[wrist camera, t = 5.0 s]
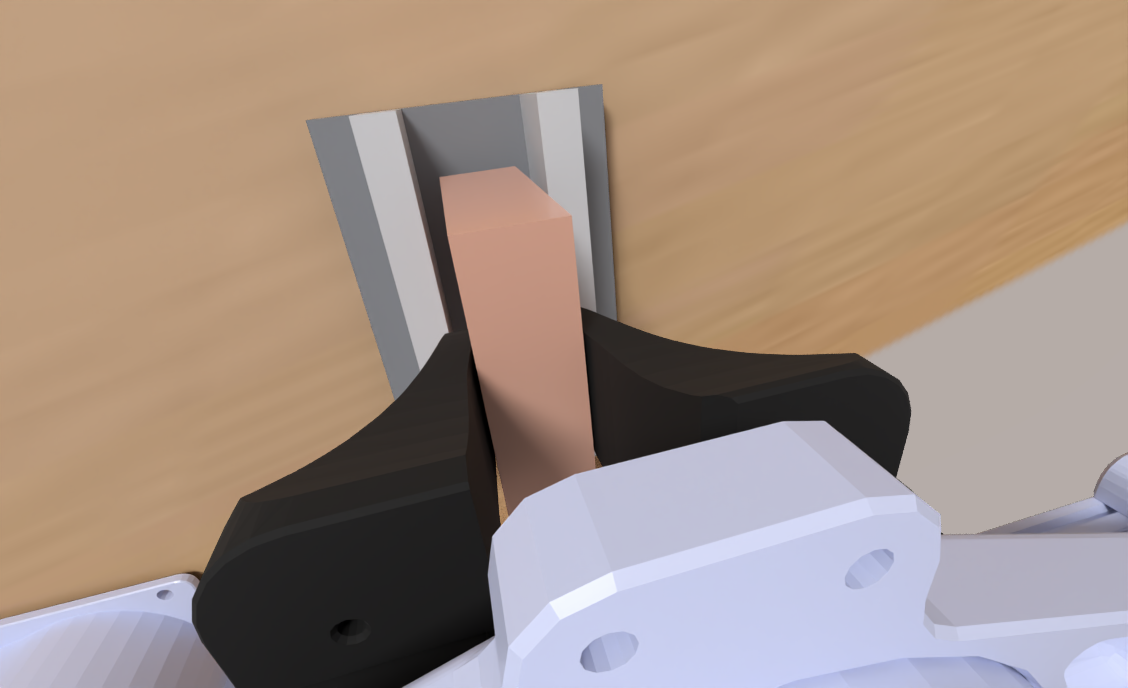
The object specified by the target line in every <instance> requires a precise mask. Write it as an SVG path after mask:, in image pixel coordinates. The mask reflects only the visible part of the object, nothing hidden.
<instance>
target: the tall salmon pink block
mask: <svg viewBox="0 0 1128 688" xmlns="http://www.w3.org/2000/svg"><path fill="white" fill-rule="evenodd" d="M439 178H440V186H441V193H442V200H443V207H444V215H445V222H446V229H447V236H448V241H449V245H450V250H451V254H452V259H453V264H454V268H455V273H456V277H457V282H458V286H459V291H460V296H461V300H462V305H463V309H464V314H465V318H466V323H467V328H468V332H469V337H470V341H471V346H472V351H473V355H474V360H475V364H476V369H477V373H478V378H479V383H480V387H481V392H482V396H483V401H484V405H485V410H486V415H487V419H488V424H489V428H490V433H491V437H492V442H493V447H494V451H495V456H496V460H497V465H498V469H499V474H500V479H501V483H502V488H503V492H504V497H505V501H506V506H507V511H508V515H509V516H510V515H511V514H512V512H513V511H514V510H515V509H516V508H517V506H518V505H519V504H520V503H521V502H522V501H523V499H524V498H526V497H528V496H530V495H532V494H534V493H536V492H539V491H541V490H543V489H545V488H547V487H549V486H551V485H553V484H555V483H557V482H559V481H562V480H564V479H566V478H568V477H570V476H572V475H574V474H578V473H582V472H586V471H590V470H593V469H596V467H595V456H594V446H593V435H592V424H591V414H590V403H589V393H588V382H587V371H586V361H585V350H584V340H583V329H582V318H581V308H580V297H579V287H578V276H577V266H576V255H575V244H574V234H573V223H572V215H571V214H570V213H568V212H567V211H566V210H565V209H564V208H563V207H561V206H560V205H559V204H558V203H557V202H556V201H555V200H553V199H552V198H551V197H550V196H549V195H548V194H547V193H545V192H544V191H543V190H542V189H541V188H540V187H538V186H537V185H536V184H535V183H534V182H533V181H532V180H530V179H529V178H528V177H527V176H526V175H525V174H523V173H522V172H521V171H520V170H519V169H518V168H517V167H515V166H512V167H505V168H498V169H492V170H485V171H478V172H471V173H464V174H457V175H450V176H443V177H439Z"/></svg>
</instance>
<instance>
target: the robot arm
mask: <svg viewBox="0 0 1128 688" xmlns="http://www.w3.org/2000/svg"><path fill="white" fill-rule="evenodd" d="M580 308H581V318H582V329H583V340H584V350H585V361H586V371H587V382H588V393H589V403H590V414H591V424H592V435H593V446H594V451H595V453H596V455H597V457H598V459H599V461H600V462H601V464H602V466H603V467H601V468H597V469H593V470H590V471H586V472H582V473H578V474H574V475H572V476H570V477H568V478H566V479H564V480H562V481H559V482H557V483H555V484H553V485H551V486H549V487H547V488H545V489H543V490H541V491H539V492H536V493H534V494H532V495H530V496H528V497H526V498H524V499H523V501H522V502H521V503H520V504H519V505H518V506H517V508H516V509H515V510H514V511H513V512H512V514H511V515H510V516H509V517H508V518H507V519H506V521H505V522H504V523H503V524H502V525H501V524H500V516H499V505H498V490H497V476H496V461H495V451H494V447H493V442H492V437H491V433H490V428H489V424H488V419H487V415H486V410H485V405H484V401H483V396H482V392H481V387H480V383H479V378H478V373H477V369H476V364H475V360H474V355H473V351H472V346H471V341H470V337H469V332H468V329H465V330H460V331H455V332H450V333H445V334H444V335H443V337H442V338H441V340H440V341H439V343H438V345H437V346H436V348H435V350H434V351H433V353H432V354H431V356H430V358H429V359H428V361H427V362H426V364H425V365H424V366H423V368H422V369H421V371H420V372H419V374H418V375H417V376H416V377H415V379H414V380H413V381H412V382H411V384H410V385H409V386H408V387H407V389H406V390H405V391H404V392H403V393H402V394H401V395H400V396H399V397H398V398H397V399H396V400H395V401H394V402H393V403H392V404H391V405H390V406H389V407H388V408H387V409H386V410H385V411H384V412H383V413H382V414H380V415H379V416H378V417H377V418H376V419H374V420H373V421H372V422H371V423H369V424H368V425H367V426H365V427H364V428H363V429H361V430H360V431H359V432H357V433H356V434H355V435H354V436H352V437H351V438H350V439H348V440H347V441H345V442H344V443H342V444H341V445H339V446H338V447H336V448H335V449H333V450H332V451H330V452H328V453H327V454H325V455H324V456H322V457H320V458H318V459H317V460H315V461H313V462H312V463H310V464H308V465H306V466H305V467H303V468H301V469H299V470H297V471H296V472H294V473H292V474H290V475H287V476H285V477H283V478H281V479H279V480H277V481H275V482H273V483H271V484H269V485H267V486H265V487H263V488H261V489H259V490H257V491H255V492H253V493H251V494H248V495H246V496H244V497H242V498H240V500H239V501H238V503H237V505H236V507H235V509H234V510H233V512H232V514H231V516H230V518H229V520H228V522H227V524H226V525H225V527H224V530H223V532H222V534H221V536H220V538H219V540H218V543H217V545H216V547H215V549H214V551H213V553H212V556H211V558H210V560H209V562H208V564H207V567H206V569H205V571H204V573H203V575H202V577H201V580H200V581H199V580H198V579H197V578H196V577H195V576H193V575H191V574H185V573H184V574H177V575H173V576H169V577H165V578H161V579H157V580H153V581H150V582H146V583H142V584H138V585H134V586H130V587H126V588H122V589H118V590H114V591H110V592H106V593H102V594H99V595H95V596H91V597H87V598H83V599H79V600H75V601H71V602H67V603H63V604H59V605H55V606H52V607H48V608H44V609H40V610H36V611H32V612H28V613H24V614H20V615H16V616H12V617H8V618H4V619H1V620H0V688H1128V453H1125V454H1123V455H1121V456H1119V457H1117V458H1116V459H1115V460H1113V461H1112V462H1111V463H1110V464H1109V465H1108V466H1107V467H1106V468H1105V470H1104V471H1103V473H1102V474H1101V476H1100V478H1099V479H1098V481H1097V484H1096V486H1095V489H1094V496H1093V497H1090V498H1087V499H1084V500H1081V501H1078V502H1075V503H1072V504H1068V505H1065V506H1062V507H1059V508H1056V509H1053V510H1049V511H1046V512H1043V513H1040V514H1037V515H1034V516H1031V517H1028V518H1024V519H1021V520H1018V521H1015V522H1012V523H1009V524H1006V525H1003V526H999V527H996V528H993V529H990V530H987V531H984V532H981V533H977V534H943V533H941V515H940V514H939V513H938V512H937V511H936V510H935V509H933V508H932V507H930V505H928V504H927V503H926V502H925V501H923V500H922V499H921V498H920V497H919V496H917V495H916V494H915V493H914V492H913V491H912V490H911V489H909V488H908V487H907V486H905V485H904V484H903V483H902V482H901V481H899V480H898V479H897V478H896V476H897V472H898V468H899V464H900V461H901V457H902V454H903V450H904V446H905V443H906V439H907V435H908V431H909V424H910V417H911V407H910V401H909V396H908V392H907V391H906V389H905V388H904V386H903V385H902V383H901V382H900V380H898V379H897V378H895V377H894V376H892V375H890V374H889V373H887V372H886V371H884V370H882V369H881V368H879V367H877V366H876V365H874V364H873V363H871V362H870V361H868V360H866V359H865V358H863V357H862V356H860V355H858V354H856V353H845V354H816V355H779V354H757V353H744V352H735V351H727V350H719V349H712V348H706V347H700V346H696V345H691V344H687V343H682V342H678V341H674V340H670V339H666V338H663V337H660V336H656V335H653V334H650V333H647V332H644V331H641V330H638V329H636V328H633V327H630V326H628V325H625V324H623V323H620V322H618V321H615V320H613V319H610V318H608V317H606V316H603V315H601V314H599V313H596V312H594V311H591V310H589V309H586V308H582V307H580ZM168 590H169V591H168Z"/></svg>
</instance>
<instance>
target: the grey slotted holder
mask: <svg viewBox="0 0 1128 688" xmlns="http://www.w3.org/2000/svg"><path fill="white" fill-rule="evenodd" d="M306 123H307V126H308V129H309V132H310V135H311V138H312V141H313V145H314V148H315V151H316V154H317V157H318V160H319V163H320V167H321V170H322V173H323V176H324V179H325V182H326V185H327V189H328V192H329V195H330V198H331V201H332V204H333V207H334V211H335V214H336V217H337V220H338V223H339V226H340V229H341V233H342V236H343V239H344V242H345V245H346V248H347V251H348V254H349V258H350V261H351V264H352V267H353V270H354V273H355V276H356V280H357V283H358V286H359V289H360V292H361V295H362V298H363V302H364V305H365V308H366V311H367V314H368V317H369V320H370V324H371V327H372V330H373V333H374V336H375V339H376V342H377V346H378V349H379V352H380V355H381V358H382V361H383V364H384V367H385V371H386V374H387V377H388V380H389V383H390V386H391V389H392V393H393V396H394V399H395V400H396V399H397V398H398V397H399V396H400V395H401V394H402V393H403V392H404V391H405V390H406V389H407V387H408V386H409V385H410V384H411V382H412V381H413V380H414V379H415V377H416V376H417V375H418V374H419V372H420V371H421V369H422V368H423V366H424V365H425V364H426V362H427V361H428V359H429V358H430V356H431V354H432V353H433V351H434V350H435V348H436V346H437V345H438V343H439V341H440V340H441V338H442V337H443V335H444V334H445V333H450V332H455V331H460V330H465V329H468V328H467V323H466V318H465V314H464V309H463V305H462V300H461V296H460V291H459V286H458V282H457V277H456V273H455V268H454V264H453V259H452V254H451V250H450V245H449V241H448V236H447V229H446V222H445V215H444V207H443V200H442V193H441V186H440V178H439V177H443V176H450V175H457V174H464V173H471V172H478V171H485V170H492V169H498V168H505V167H512V166H515V167H517V168H518V169H519V170H520V171H521V172H522V173H523V174H525V175H526V176H527V177H528V178H529V179H530V180H532V181H533V182H534V183H535V184H536V185H537V186H538V187H540V188H541V189H542V190H543V191H544V192H545V193H547V194H548V195H549V196H550V197H551V198H552V199H553V200H555V201H556V202H557V203H558V204H559V205H560V206H561V207H563V208H564V209H565V210H566V211H567V212H568V213H570V214H571V215H572V223H573V234H574V244H575V255H576V266H577V276H578V287H579V297H580V307H582V308H586V309H589V310H591V311H594V312H596V313H599V314H601V315H603V316H606V317H608V318H610V319H613V320H615V321H617V313H616V297H615V281H614V265H613V249H612V234H611V218H610V202H609V186H608V170H607V154H606V138H605V122H604V106H603V90H602V84H600V85H590V86H582V87H573V88H565V89H557V90H549V91H541V92H532V93H524V94H516V95H508V96H500V97H491V98H483V99H475V100H467V101H459V102H450V103H442V104H434V105H426V106H418V107H409V108H401V109H393V110H385V111H377V112H368V113H360V114H352V115H344V116H336V117H327V118H319V119H312V120H306ZM594 456H597V455H596V453H595V451H594Z"/></svg>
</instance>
